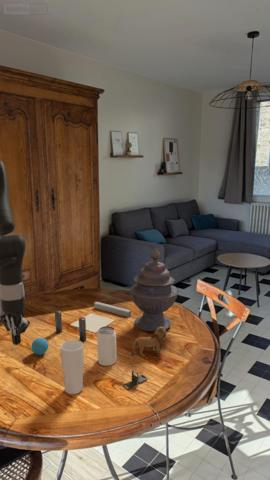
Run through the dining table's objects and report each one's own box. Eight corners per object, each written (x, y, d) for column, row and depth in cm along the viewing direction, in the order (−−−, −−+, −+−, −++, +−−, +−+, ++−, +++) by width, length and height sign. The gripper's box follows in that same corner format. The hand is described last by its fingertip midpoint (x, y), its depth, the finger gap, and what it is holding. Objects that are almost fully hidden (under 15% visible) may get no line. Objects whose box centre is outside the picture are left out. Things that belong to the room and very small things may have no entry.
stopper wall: (94, 307, 167) (94, 303, 167) (96, 306, 169) (96, 301, 168) (128, 317, 156) (128, 312, 156) (130, 315, 158) (130, 310, 158)
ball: (28, 355, 126) (27, 339, 124) (41, 347, 131) (39, 333, 129) (39, 359, 123) (38, 344, 121) (52, 352, 127) (51, 337, 126)
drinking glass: (64, 383, 109) (61, 340, 106) (85, 382, 109) (83, 339, 106) (61, 397, 102) (58, 351, 99) (84, 396, 103) (82, 350, 100)
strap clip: (142, 376, 113) (142, 364, 112) (148, 380, 111) (148, 368, 110) (121, 386, 108) (121, 374, 107) (127, 391, 105) (127, 379, 104)
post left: (54, 332, 143) (53, 312, 141) (59, 329, 145) (57, 309, 143) (59, 333, 141) (57, 313, 140) (63, 331, 144) (62, 311, 142)
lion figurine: (162, 345, 132) (162, 323, 130) (169, 351, 127) (169, 328, 125) (127, 354, 126) (127, 331, 124) (134, 361, 121) (133, 338, 119)
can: (113, 367, 117) (113, 335, 115) (95, 365, 119) (94, 333, 116) (118, 357, 124) (117, 326, 121) (101, 355, 125) (100, 324, 122)
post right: (78, 340, 136) (77, 319, 134) (82, 337, 138) (81, 316, 136) (83, 342, 134) (82, 320, 133) (87, 339, 137) (86, 318, 135)
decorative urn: (120, 330, 142) (124, 247, 136) (138, 314, 160) (143, 240, 155) (167, 341, 135) (174, 254, 129) (180, 323, 153) (187, 246, 147)
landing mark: (70, 325, 149) (70, 324, 149) (91, 313, 161) (91, 313, 161) (95, 333, 142) (95, 332, 142) (115, 320, 153) (115, 320, 153)
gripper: (-10, 295, 114) (-5, 343, 117) (16, 302, 107) (20, 354, 110) (9, 288, 120) (13, 334, 123) (35, 295, 113) (38, 344, 116)
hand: (16, 343), depth 117 cm, fingers closed
